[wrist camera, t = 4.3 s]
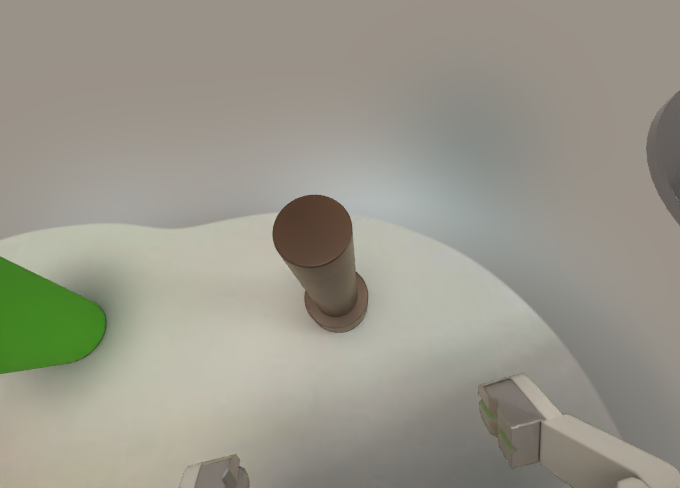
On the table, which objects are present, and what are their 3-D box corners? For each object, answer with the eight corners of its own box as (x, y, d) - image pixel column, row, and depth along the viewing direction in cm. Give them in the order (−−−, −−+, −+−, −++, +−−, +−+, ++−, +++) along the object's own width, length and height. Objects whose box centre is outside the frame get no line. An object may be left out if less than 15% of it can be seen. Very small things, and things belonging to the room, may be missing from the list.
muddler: (356, 268, 27) (349, 163, 13) (375, 321, 26) (391, 264, 12) (303, 286, 27) (241, 197, 13) (319, 341, 25) (267, 305, 11)
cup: (29, 410, 25) (-203, 438, 15) (21, 307, 28) (-172, 271, 18) (139, 357, 26) (-7, 348, 16) (119, 263, 29) (-12, 206, 19)
